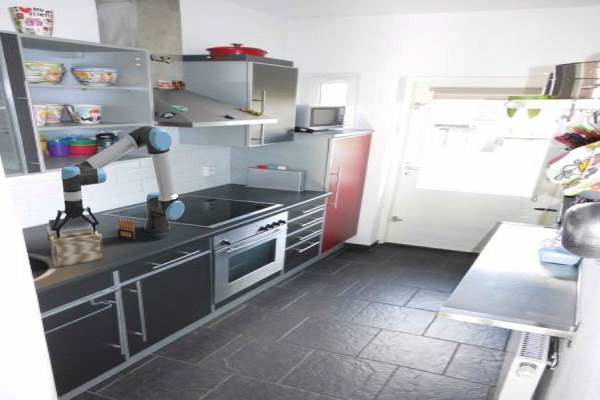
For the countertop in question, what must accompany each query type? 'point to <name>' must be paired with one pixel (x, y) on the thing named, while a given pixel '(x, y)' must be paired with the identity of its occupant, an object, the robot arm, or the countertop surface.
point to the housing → (75, 248)
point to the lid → (70, 225)
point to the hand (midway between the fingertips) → (77, 240)
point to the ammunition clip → (126, 229)
